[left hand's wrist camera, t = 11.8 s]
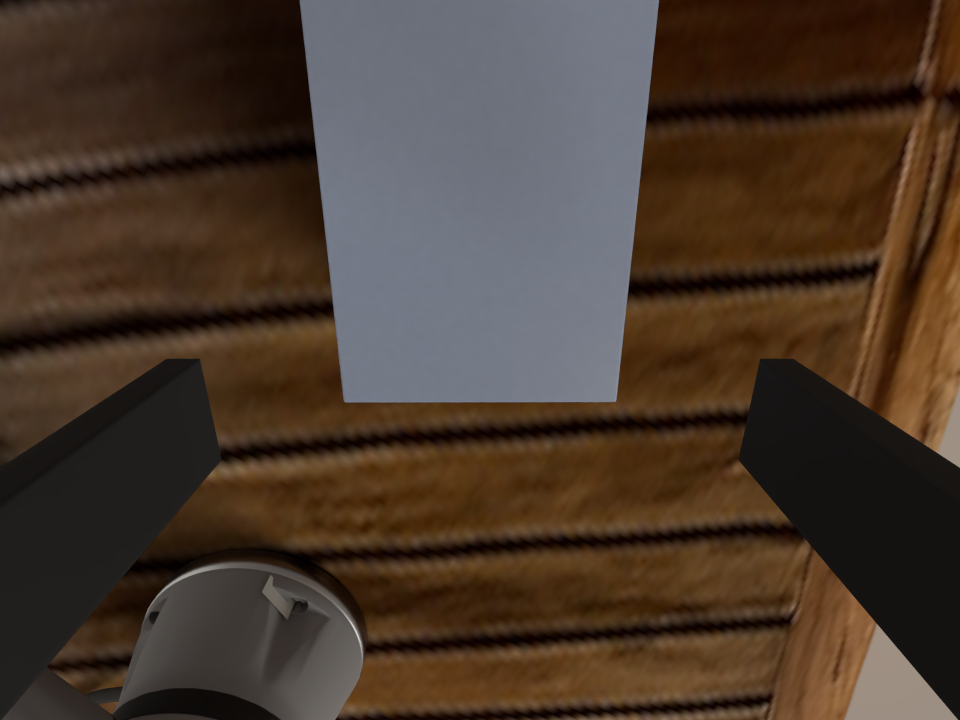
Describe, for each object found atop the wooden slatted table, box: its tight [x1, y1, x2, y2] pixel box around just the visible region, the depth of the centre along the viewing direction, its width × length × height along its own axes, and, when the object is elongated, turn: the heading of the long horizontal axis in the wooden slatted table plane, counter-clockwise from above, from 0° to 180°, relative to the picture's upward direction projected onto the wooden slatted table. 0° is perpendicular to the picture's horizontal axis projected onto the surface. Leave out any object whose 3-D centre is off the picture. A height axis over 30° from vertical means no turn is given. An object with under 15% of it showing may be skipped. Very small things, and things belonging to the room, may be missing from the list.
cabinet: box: [300, 0, 659, 402], centre depth 21 cm, size 19×10×10 cm, turn 0°
